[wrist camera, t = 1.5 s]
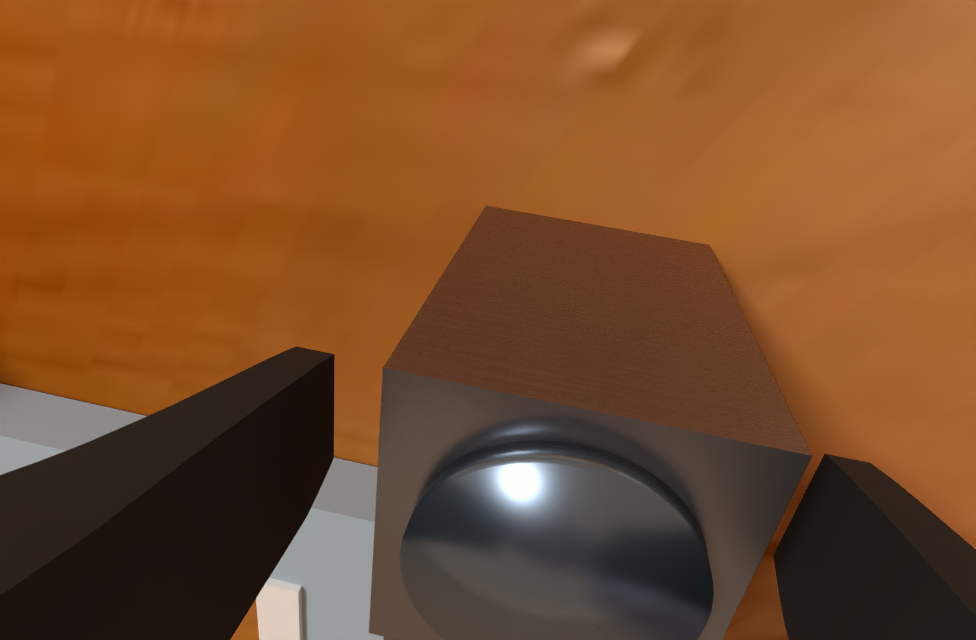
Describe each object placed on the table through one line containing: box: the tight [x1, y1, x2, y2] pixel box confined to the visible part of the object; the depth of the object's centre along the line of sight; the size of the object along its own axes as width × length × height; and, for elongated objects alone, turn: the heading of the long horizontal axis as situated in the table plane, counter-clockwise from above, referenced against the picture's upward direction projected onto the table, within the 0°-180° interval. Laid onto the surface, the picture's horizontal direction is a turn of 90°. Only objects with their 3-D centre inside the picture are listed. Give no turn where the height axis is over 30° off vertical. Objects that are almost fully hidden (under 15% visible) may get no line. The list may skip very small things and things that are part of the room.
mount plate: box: [0, 383, 395, 640], centre depth 19 cm, size 14×14×2 cm
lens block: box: [369, 206, 812, 640], centre depth 10 cm, size 4×4×7 cm
